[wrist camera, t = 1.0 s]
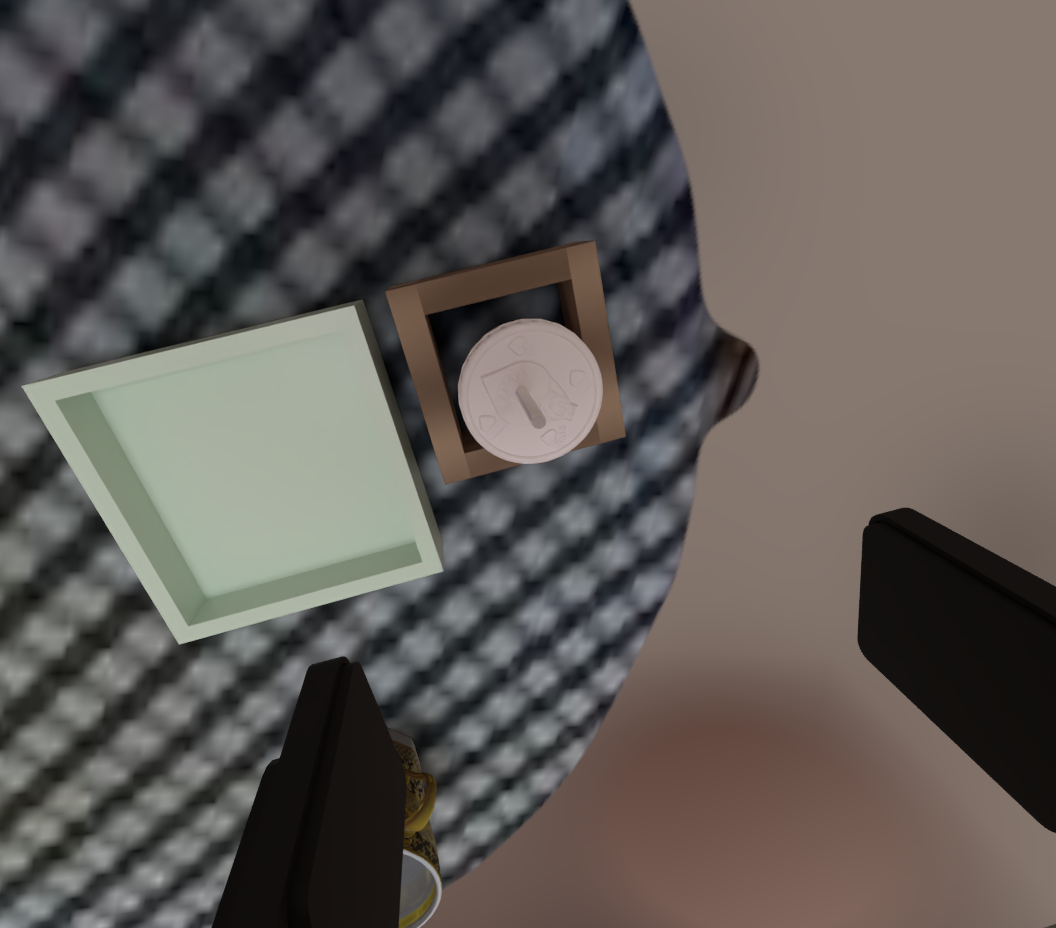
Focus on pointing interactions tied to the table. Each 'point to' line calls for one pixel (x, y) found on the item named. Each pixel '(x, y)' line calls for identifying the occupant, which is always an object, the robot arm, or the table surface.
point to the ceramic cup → (417, 841)
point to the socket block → (419, 298)
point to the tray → (250, 469)
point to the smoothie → (530, 391)
